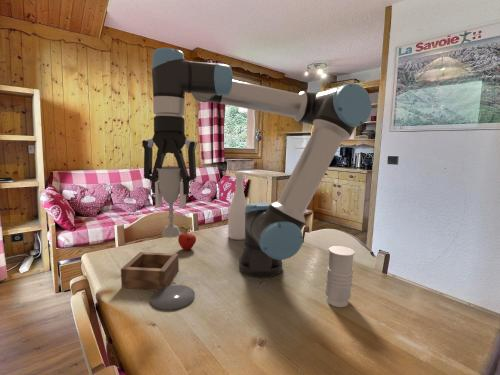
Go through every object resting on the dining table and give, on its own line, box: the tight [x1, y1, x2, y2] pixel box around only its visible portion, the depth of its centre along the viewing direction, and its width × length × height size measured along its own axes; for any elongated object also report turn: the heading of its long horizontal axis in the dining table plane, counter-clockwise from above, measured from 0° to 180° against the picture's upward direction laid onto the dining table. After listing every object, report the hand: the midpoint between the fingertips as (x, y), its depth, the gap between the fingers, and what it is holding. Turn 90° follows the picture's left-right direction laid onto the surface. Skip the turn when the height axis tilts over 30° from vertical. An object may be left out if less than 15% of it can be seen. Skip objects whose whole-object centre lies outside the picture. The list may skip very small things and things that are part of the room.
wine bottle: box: [227, 171, 248, 241], centre depth 129 cm, size 10×10×30 cm
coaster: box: [149, 284, 196, 311], centre depth 80 cm, size 12×12×1 cm
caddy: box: [120, 251, 179, 291], centre depth 90 cm, size 13×13×6 cm
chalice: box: [156, 165, 183, 239], centre depth 75 cm, size 7×7×18 cm
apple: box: [177, 226, 197, 251], centre depth 114 cm, size 8×7×10 cm
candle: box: [325, 245, 355, 308], centre depth 79 cm, size 7×7×15 cm
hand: (170, 205), depth 75 cm, fingers closed on chalice, 6 cm apart
